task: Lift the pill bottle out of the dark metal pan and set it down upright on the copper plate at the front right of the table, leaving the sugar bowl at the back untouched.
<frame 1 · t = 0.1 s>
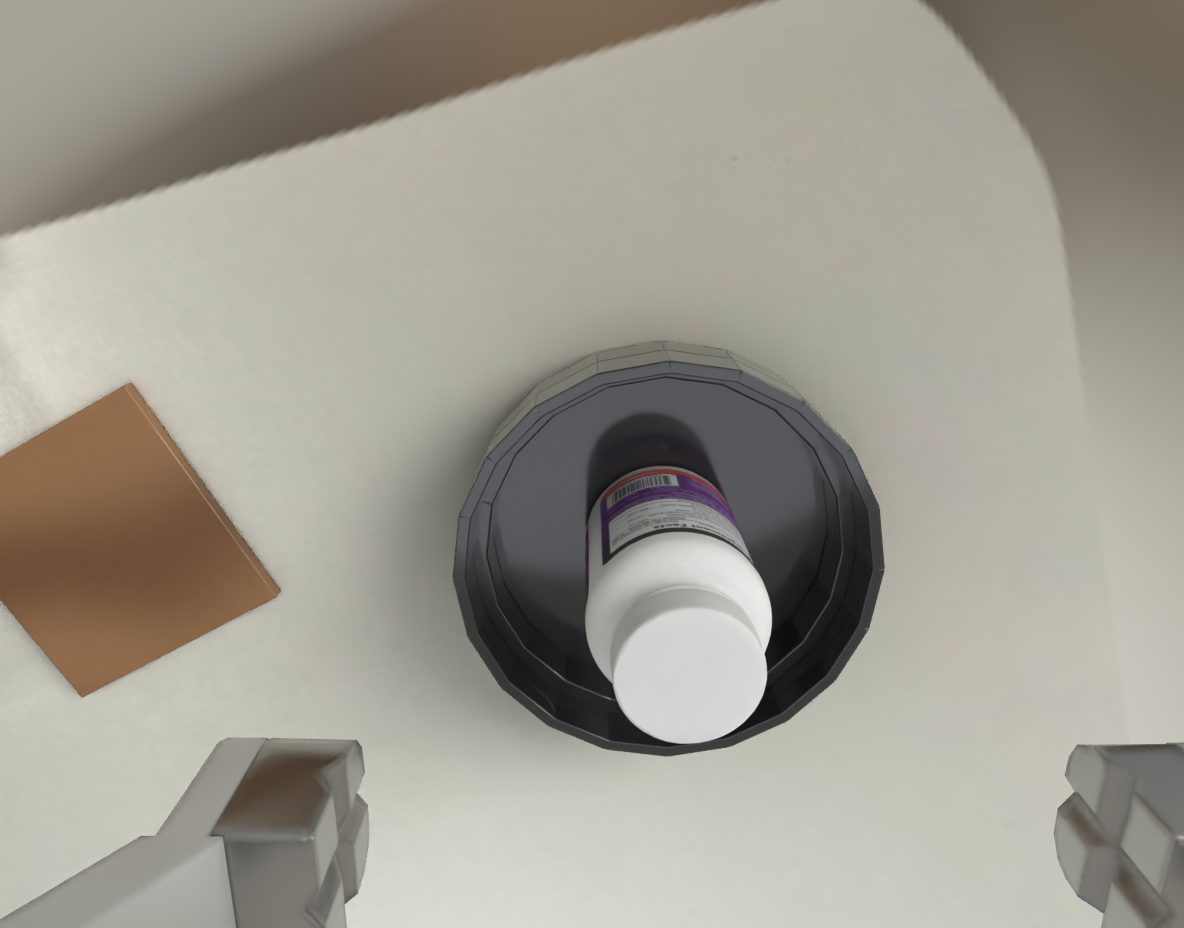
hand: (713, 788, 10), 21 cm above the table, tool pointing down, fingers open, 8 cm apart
pan: (659, 530, 31), on the table
pill bottle: (659, 530, 31), resting on pan
copper plate: (108, 545, 32), on the table
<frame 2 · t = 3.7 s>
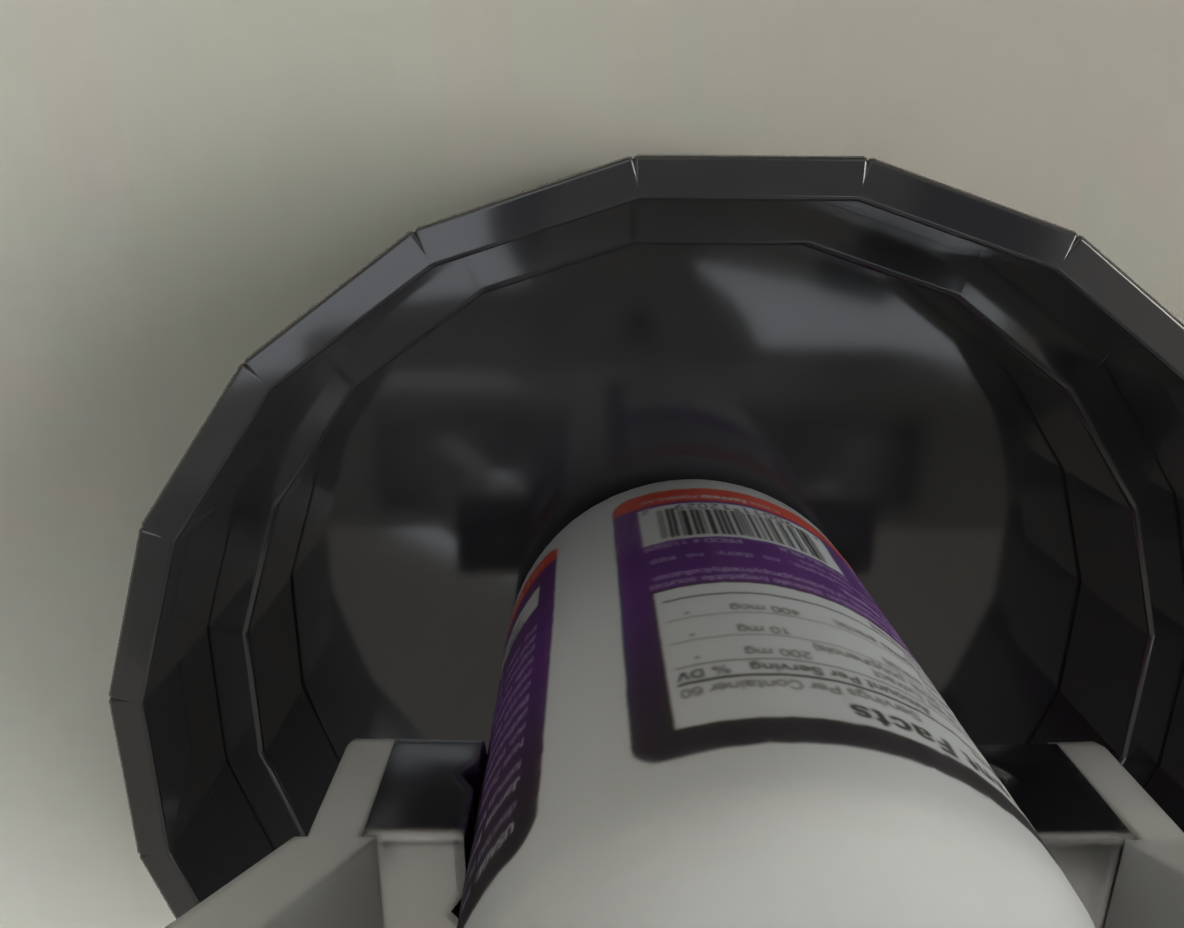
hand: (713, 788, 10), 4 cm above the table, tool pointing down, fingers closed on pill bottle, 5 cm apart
pan: (682, 627, 14), on the table
pill bottle: (683, 628, 14), resting on pan, touching gripper
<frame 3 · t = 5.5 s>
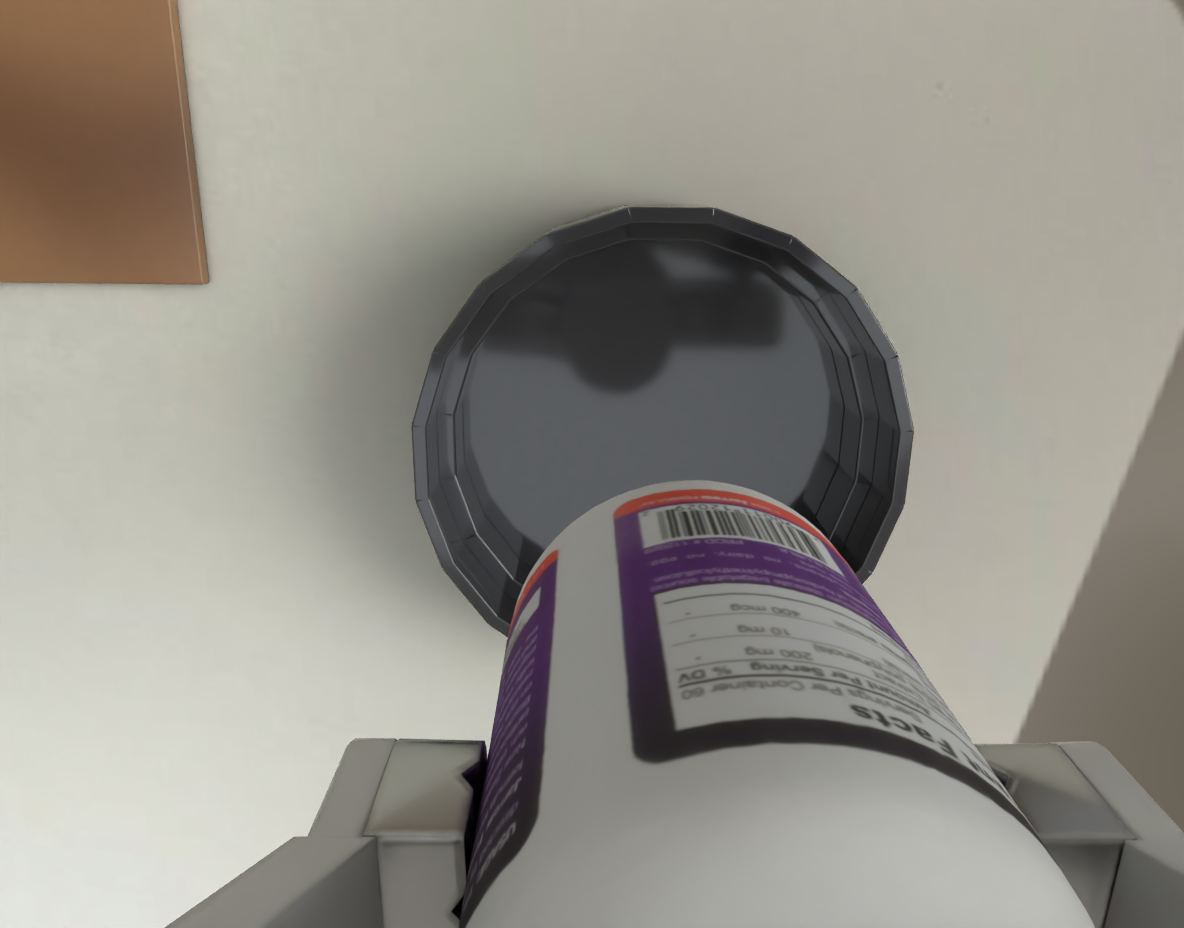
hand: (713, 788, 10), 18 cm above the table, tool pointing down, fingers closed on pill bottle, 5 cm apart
pan: (652, 431, 28), on the table
pill bottle: (684, 628, 14), point 14 cm above the table, touching gripper
copper plate: (33, 121, 25), on the table
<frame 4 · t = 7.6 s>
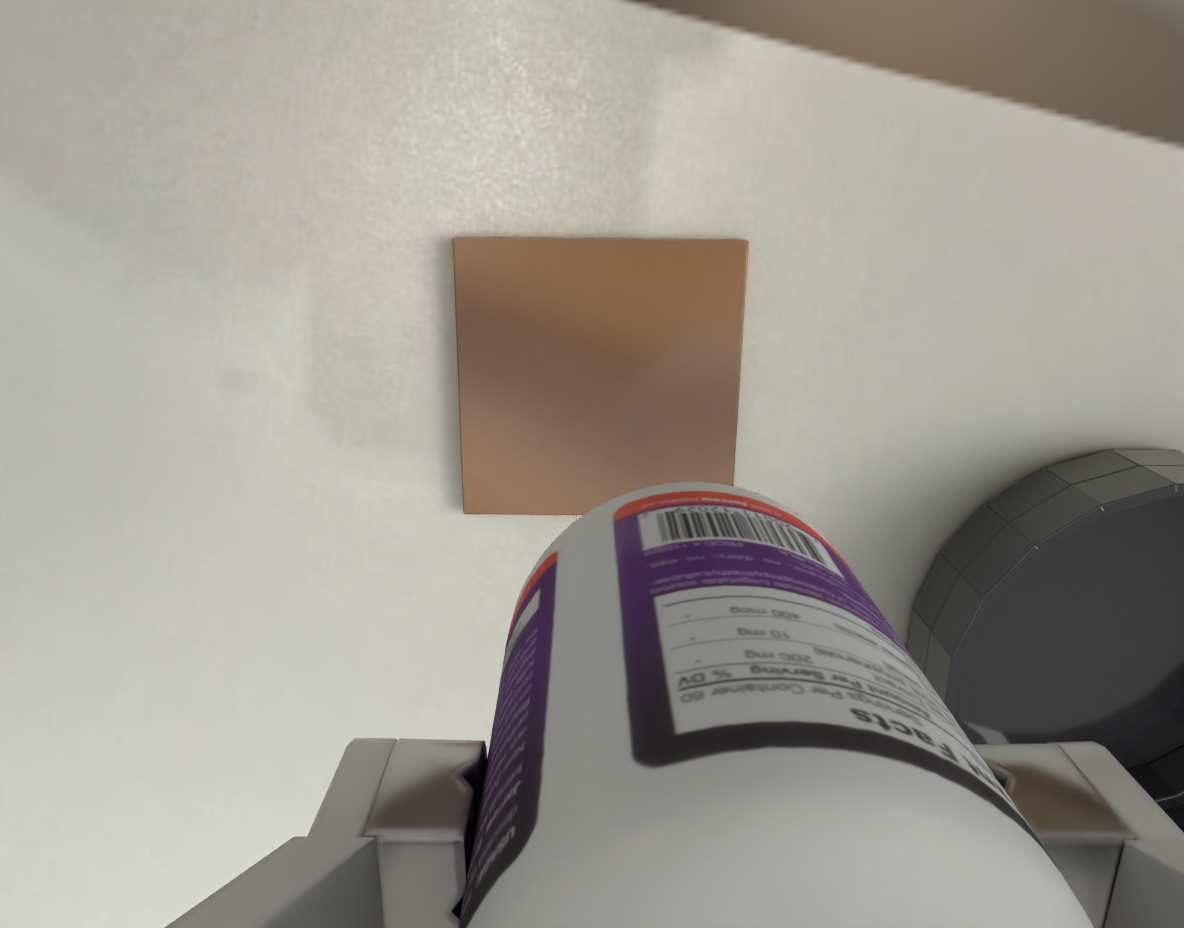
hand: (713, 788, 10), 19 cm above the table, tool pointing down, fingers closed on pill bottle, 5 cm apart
pan: (1098, 632, 31), on the table
pill bottle: (684, 630, 14), point 15 cm above the table, touching gripper
copper plate: (598, 380, 28), on the table
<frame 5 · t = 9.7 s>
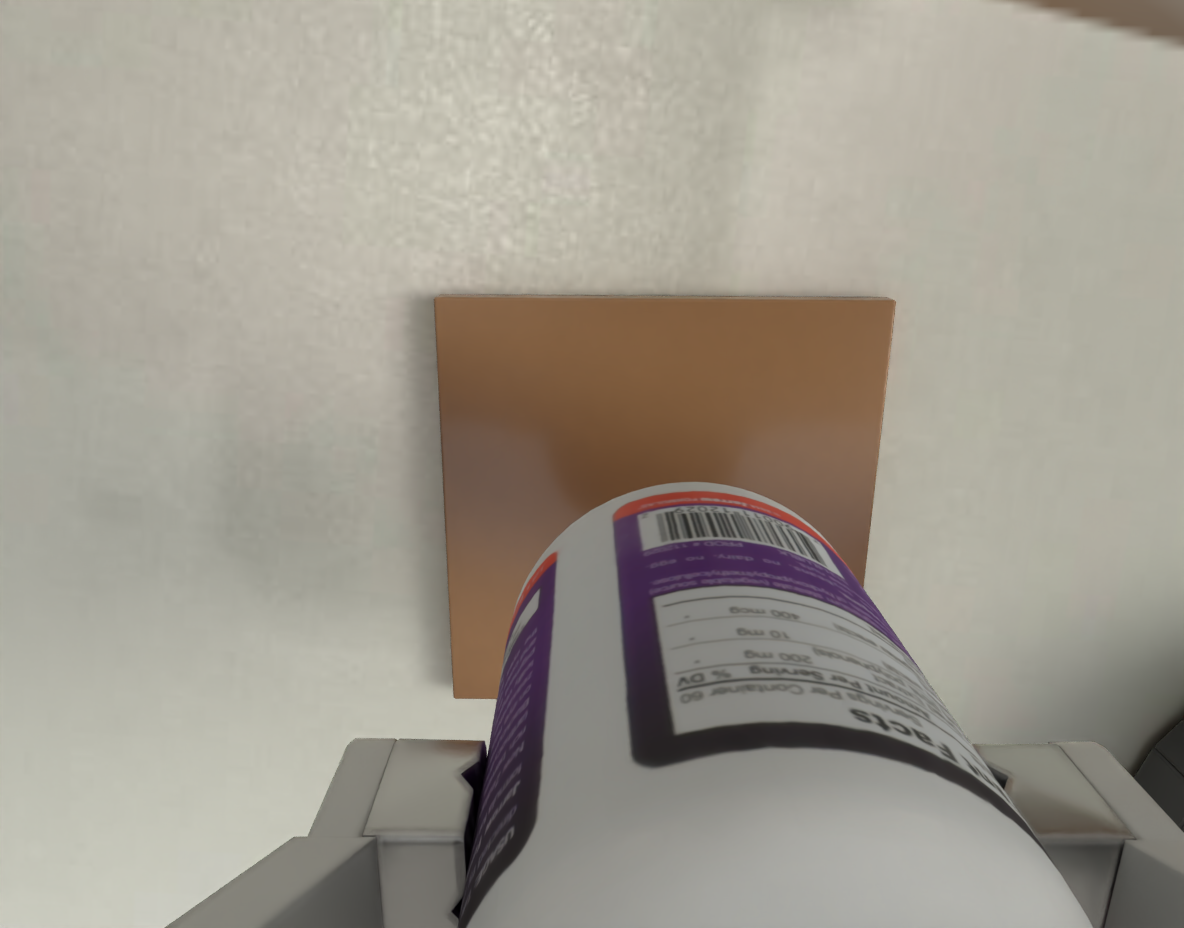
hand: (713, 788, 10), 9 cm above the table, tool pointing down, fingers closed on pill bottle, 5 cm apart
pill bottle: (683, 630, 14), point 5 cm above the table, touching gripper
copper plate: (656, 506, 19), on the table
when the fingers open (4 cm above the table, at t = 11.5 s): pill bottle stays where it is, resting on copper plate.
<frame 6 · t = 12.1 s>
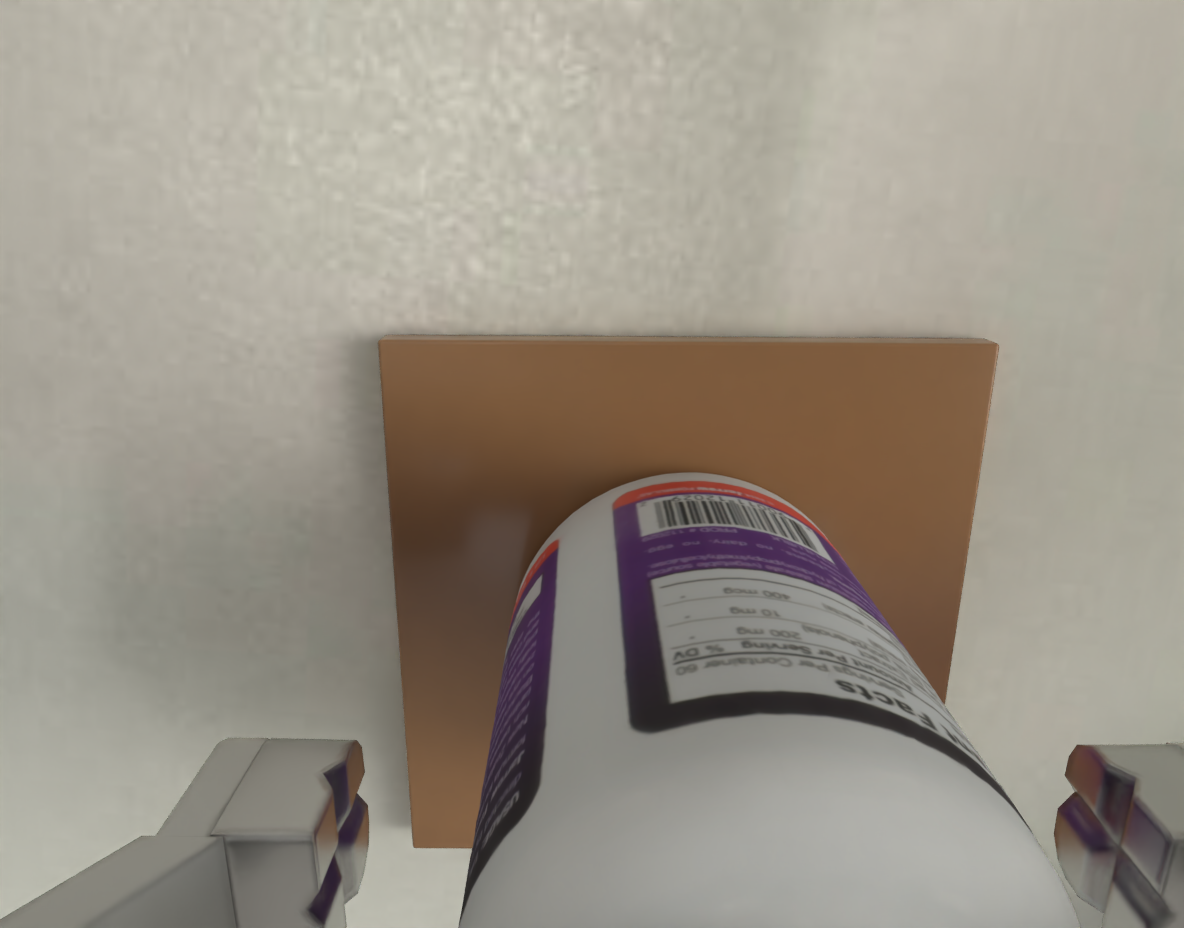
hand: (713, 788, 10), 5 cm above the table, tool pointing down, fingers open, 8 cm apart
pill bottle: (681, 617, 14), resting on copper plate
copper plate: (674, 607, 14), on the table
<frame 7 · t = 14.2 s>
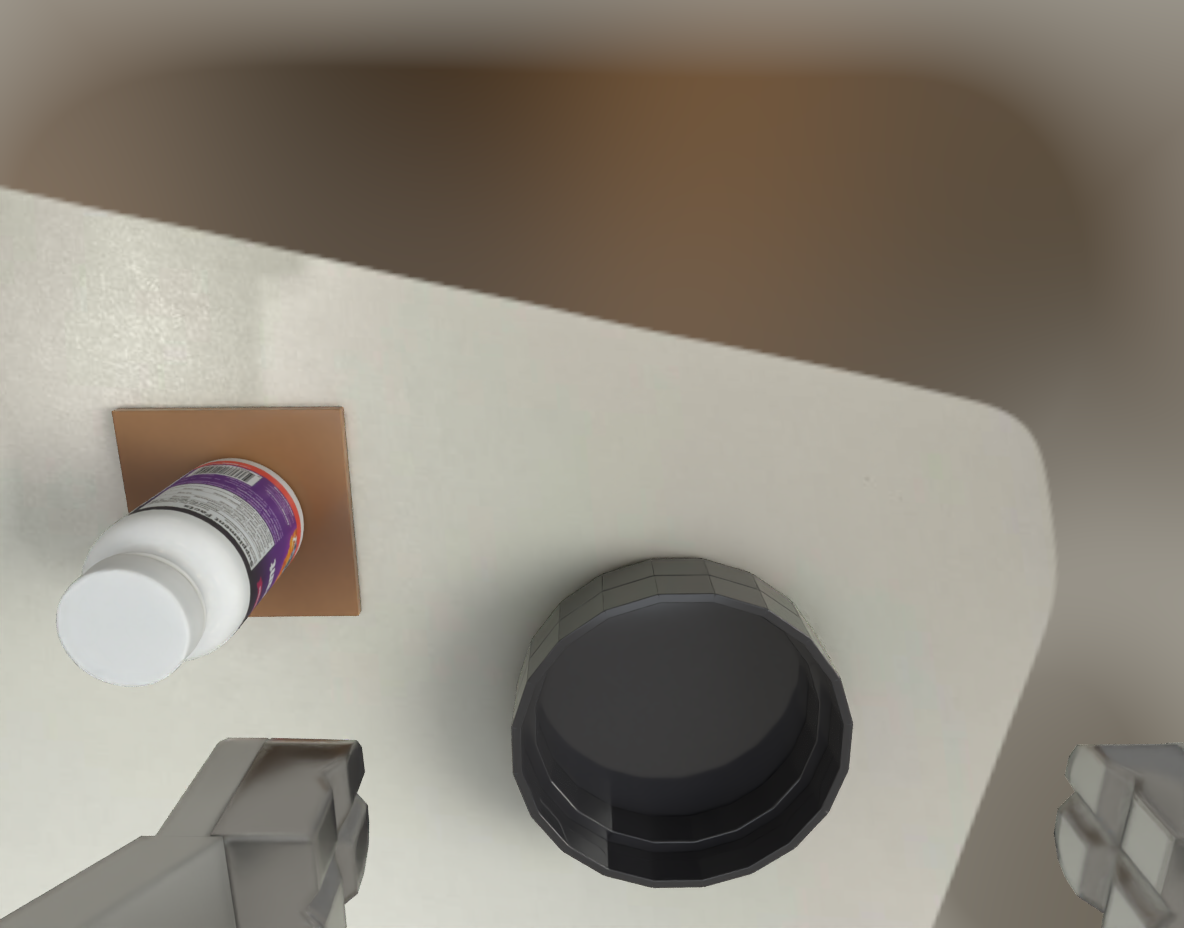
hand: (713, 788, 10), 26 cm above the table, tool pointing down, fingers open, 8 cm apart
pan: (672, 699, 39), on the table
pill bottle: (243, 516, 36), resting on copper plate
copper plate: (244, 513, 36), on the table
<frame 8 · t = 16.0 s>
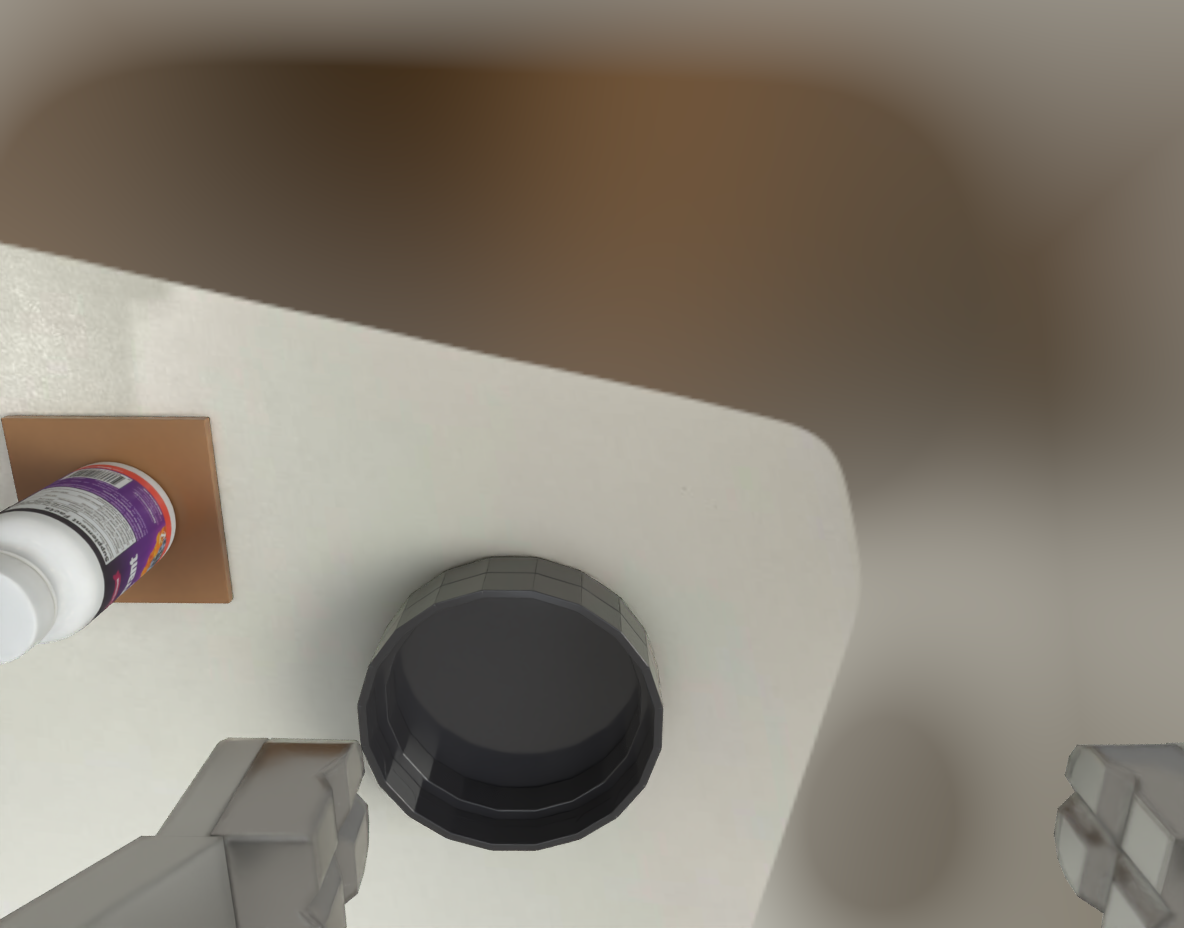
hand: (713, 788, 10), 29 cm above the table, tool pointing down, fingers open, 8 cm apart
pan: (517, 682, 43), on the table
pill bottle: (122, 513, 40), resting on copper plate
copper plate: (124, 510, 40), on the table
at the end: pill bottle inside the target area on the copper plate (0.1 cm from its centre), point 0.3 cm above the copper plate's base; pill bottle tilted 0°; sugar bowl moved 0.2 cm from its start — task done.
